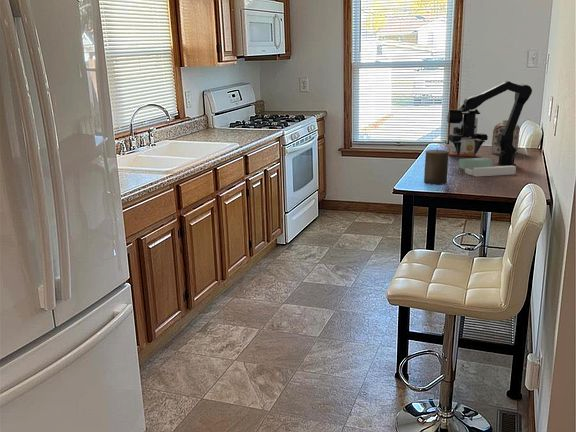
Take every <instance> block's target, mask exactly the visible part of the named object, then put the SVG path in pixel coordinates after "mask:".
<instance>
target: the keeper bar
mask: <svg viewBox="0 0 576 432" xmlns="http://www.w3.org/2000/svg"><path fill="white" fill-rule="evenodd" d="M458 161H459V162H458V168H460V169H462V170H464V171H465V168H468V169H471V170H473V168H477V167H493V160H492V159H491V158H487V157H475V158H474V157H473V158H459V160H458Z"/></svg>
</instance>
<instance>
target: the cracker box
mask: <svg viewBox="0 0 576 432" xmlns="http://www.w3.org/2000/svg"><path fill="white" fill-rule="evenodd" d="M463 117H464V115H463ZM478 121H479V117H478V116H476V119H475V126H476V128H475V131H474V134H477V133H478V123H479V122H478ZM449 124H450V127H449V135H455V134H454V133H453V129H454V127H458V128H461V125H463V120H462V122H460V123H449ZM456 135H457V134H456ZM474 140H475V139H464V140H460V142H461V148H460V154H459V155H457V152H456V148H455V146H454V144H453V142H451V141H449V140H448V152H449V154H448V156H450V157H451V156H454V157H455V156H456V157H458V156H459V157H475V156H476V154H474V147H475V142H474Z"/></svg>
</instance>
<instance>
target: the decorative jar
mask: <svg viewBox="0 0 576 432" xmlns="http://www.w3.org/2000/svg"><path fill="white" fill-rule="evenodd" d="M507 122H508V120H507V119H504V120H502V122H500V123H496V124H495V125H494V127H493V129H492V130H493V131H492V137H491V138H492V139H491V148H490V149H491V150H490V153H491V154H494V155H500V152H502V151H501V150H500V148H499V147H498V146H497V141H496V139H497V138H498V134H499V133H501V134H502V133H503V131H504V130H505V127H506V124H507ZM520 128H521V127H520V125H519V124H518V123H517V124H516V127H515V130H514V133H513V143H512V146H513V147H514V148H515V149H516V153H518V150H519V141H520V131H521V129H520ZM516 153H515V154H516Z"/></svg>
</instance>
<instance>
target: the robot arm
mask: <svg viewBox="0 0 576 432" xmlns="http://www.w3.org/2000/svg"><path fill="white" fill-rule="evenodd" d="M506 91H510V92H513V93H514V102H513V105H512V109H511V110H510V114H509V117H508V122H507V124H506V127H505V130H504V131H503V133H502V134H501V133H499V134H498V138H497V139H496V141H497V146H498V147H499V148H500V150H501V151H502V152H500V154H498V155H499V157H498V162H497V163H496V164H498V165H500V166H516V163H515V159H516V156H515V155H516V149H515V148H514V147H513V146H512V143H513V133H514V130H515V127H516V124H517V125H518V123H519V119H520V115H521V113H522V110H523V108H524V105H525V103H527V101H529V99H530V97H531V95H532V93H533V88H532V87H531V86H530V85H528V84H518V83H514V82H511V81H509V80H505V81H503V82H501V83H499V84H498V85H496V86H494V87H492V88H489V89H488V90H486V91H483V92H481V93H478V94H474V95H471V96H467V97H466V98H464V100H463V103H462V105H461V106H460V107H459V109H451V108H449V109H448V113H447V116H446V117H447V119H446V120H447V124H450V123H460V122H462V120H463V125H461V128H458V127H454V129H453V133H454V134H455V135H450V134H449V135H448V136H447V137H448V138H447V140H448V142H449V141H451V142H453V144H454V146H455V148H456V152H457V155H459V154H460V148H461V142H460V140H464V139H475V140H474V142H475V147H474V154H475V155H477V153H478V151H479V150H480V148H481V147H482V145H483V144H484V143H486V141H488V140H489V139H488V138H489V136H488V134H486V133H482V132H481V133H478V132H477V134H474V131H475V128H476V126H475V119H476V117H477V115H481V112H480V111H479V110H478V109H477V108H478V107H480V106H481V105H483V103H484V102H486V101H488V100H491V99H492V98H495V97H497V96H499V95H500V94H502V93H504V92H506ZM463 116H464V117H463ZM456 134H457V135H456Z"/></svg>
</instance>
